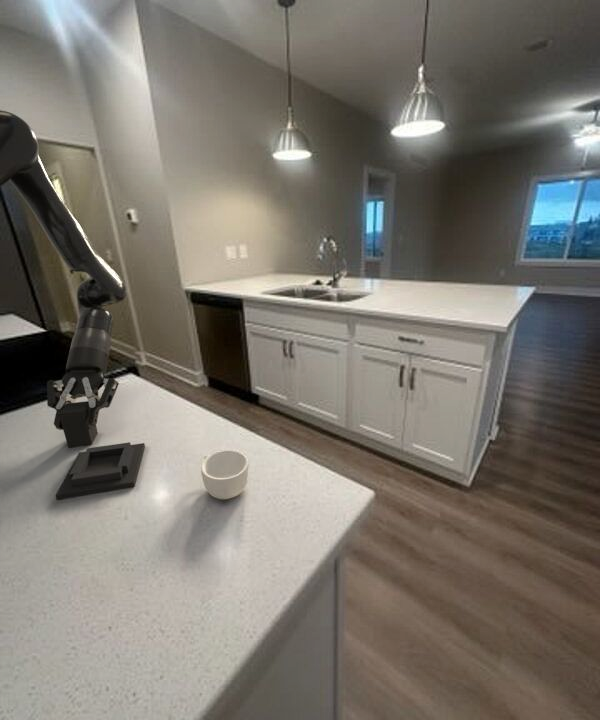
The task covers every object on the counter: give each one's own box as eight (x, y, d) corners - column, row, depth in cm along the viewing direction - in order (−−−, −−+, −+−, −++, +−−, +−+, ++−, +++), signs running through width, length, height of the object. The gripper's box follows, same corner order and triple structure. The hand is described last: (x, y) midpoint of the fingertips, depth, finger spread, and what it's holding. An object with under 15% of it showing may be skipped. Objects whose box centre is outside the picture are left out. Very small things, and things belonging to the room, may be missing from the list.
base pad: (56, 500, 57) (52, 488, 56) (80, 456, 68) (77, 445, 67) (134, 486, 60) (132, 475, 59) (145, 446, 71) (143, 436, 70)
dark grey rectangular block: (68, 447, 70) (58, 413, 67) (75, 436, 74) (66, 403, 71) (92, 444, 71) (83, 410, 68) (98, 433, 75) (89, 400, 72)
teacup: (259, 488, 59) (257, 462, 57) (222, 514, 54) (219, 487, 52) (224, 463, 65) (221, 439, 64) (188, 484, 60) (184, 459, 58)
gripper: (45, 346, 72) (24, 426, 66) (115, 344, 74) (102, 422, 67) (65, 360, 79) (48, 434, 73) (129, 358, 80) (119, 430, 74)
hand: (74, 428), depth 70 cm, fingers closed on dark grey rectangular block, 5 cm apart
